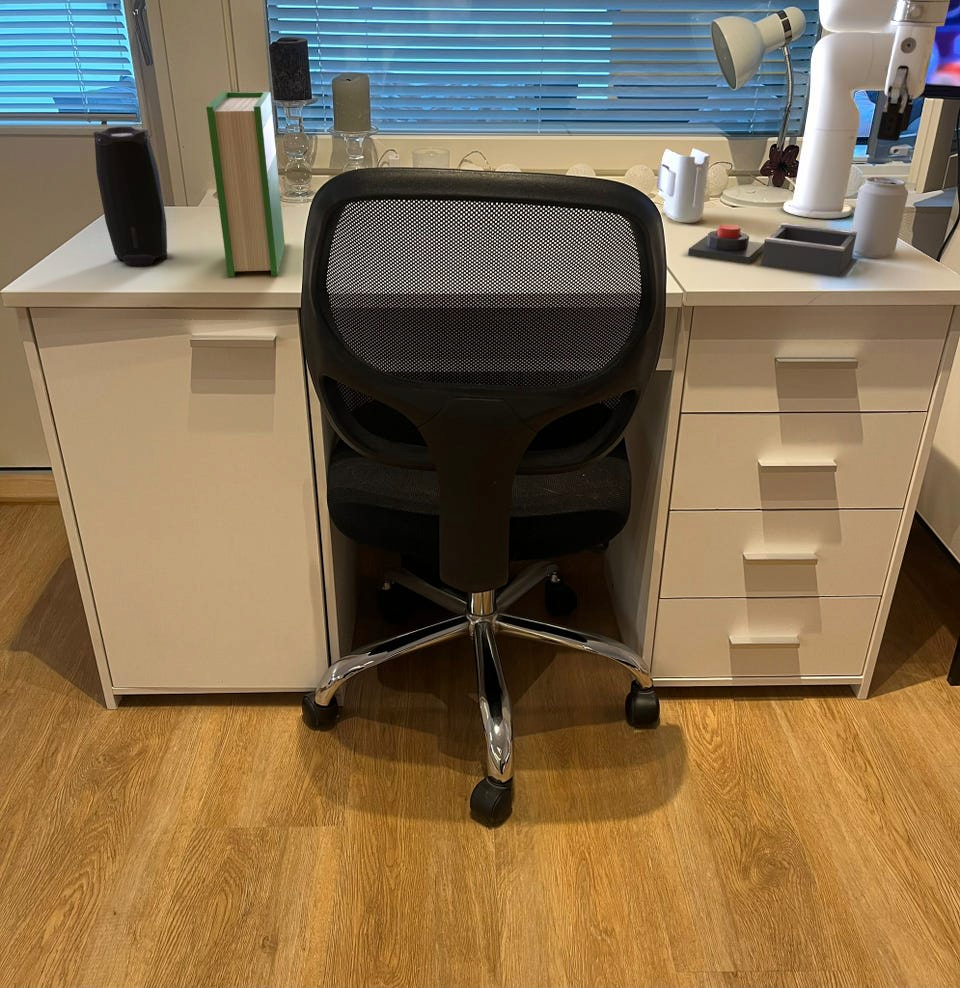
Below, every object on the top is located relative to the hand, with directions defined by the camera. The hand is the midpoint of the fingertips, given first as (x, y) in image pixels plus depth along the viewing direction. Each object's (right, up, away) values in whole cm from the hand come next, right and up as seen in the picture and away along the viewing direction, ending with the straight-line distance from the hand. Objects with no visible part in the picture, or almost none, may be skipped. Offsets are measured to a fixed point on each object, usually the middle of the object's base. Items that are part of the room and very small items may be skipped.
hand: (892, 134), depth 148 cm
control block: (-24, -17, +8) cm, 30 cm away
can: (0, -17, +9) cm, 19 cm away
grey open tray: (-12, -19, +3) cm, 23 cm away
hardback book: (-101, -20, +2) cm, 103 cm away
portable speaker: (-119, -20, +1) cm, 121 cm away
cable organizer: (-27, -4, +30) cm, 41 cm away
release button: (-24, -14, +7) cm, 29 cm away
